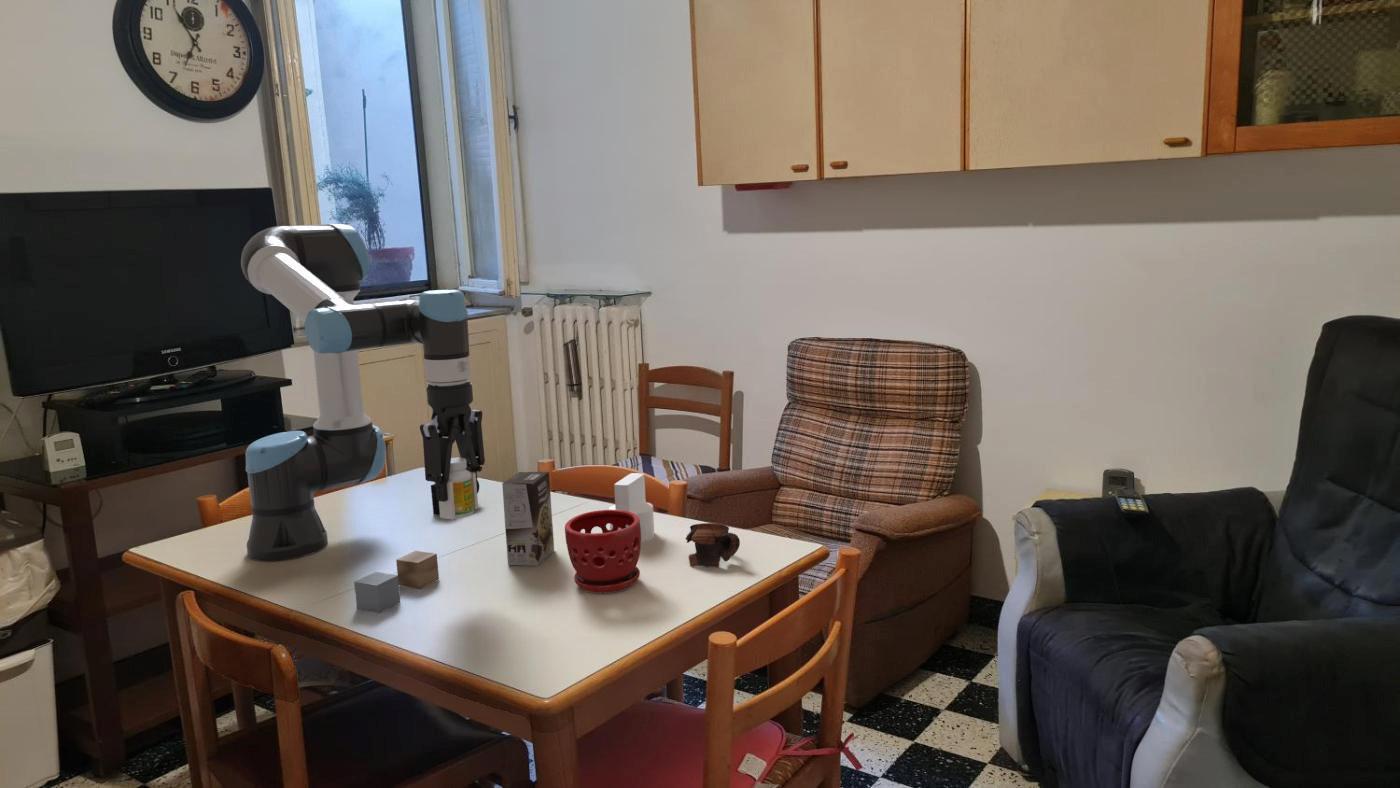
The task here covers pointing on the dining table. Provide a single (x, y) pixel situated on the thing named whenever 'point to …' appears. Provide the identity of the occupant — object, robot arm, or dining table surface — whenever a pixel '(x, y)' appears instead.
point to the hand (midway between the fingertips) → (459, 512)
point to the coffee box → (528, 518)
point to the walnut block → (417, 569)
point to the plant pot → (604, 550)
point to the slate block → (377, 592)
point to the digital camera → (435, 501)
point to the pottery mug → (711, 544)
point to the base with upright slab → (634, 503)
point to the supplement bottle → (461, 487)
